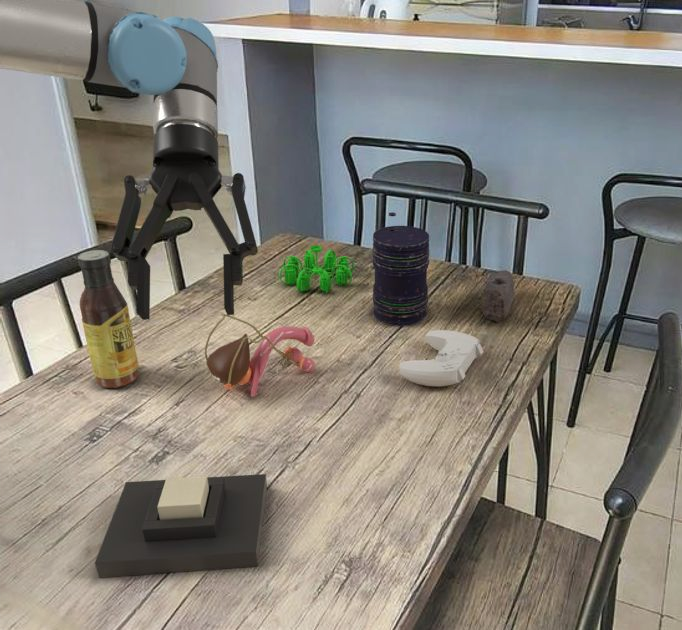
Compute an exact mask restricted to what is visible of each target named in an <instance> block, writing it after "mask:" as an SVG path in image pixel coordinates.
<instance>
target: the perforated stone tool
mask: <svg viewBox="0 0 682 630" xmlns="http://www.w3.org/2000/svg"><path fill="white" fill-rule="evenodd" d="M483 292H484V300H483V301H482V303H481V304H480V308H481V311H482V313H483V316H484V318H486V319H488V320H489V321H495V322H497V323H501V322H504V320H505V319H506V318H507V317H508V314H509V313H510V310H511V306H512V305H513V301H514V294H515V282H514V277H513V275H512V273H511V271H509V270H506V269H503V270H502V269H501V270H499V271H498V272H497V271H496V273H495V274H493V275H492V277H491V278H489V280H488V281H487V283H486V285H485V287H484V288H483Z"/></svg>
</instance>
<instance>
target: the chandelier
mask: <svg viewBox="0 0 682 630" xmlns="http://www.w3.org/2000/svg"><path fill="white" fill-rule="evenodd" d="M322 251H323V247H322V246H321V245H311V246H310V248H309V249H307V250H305V253H304V257H303V262H304V265H303V262H302V261H301V259H300V258H299V257H297V256H295V255H288V256H287V257H285V258H284V259H283V261H282V267H281V268H280V270H279V273H278V278H279V280H280V282H281V283H282V284H283V285H286V286H293V285H296V289H297V291H298V292H299V293H301V294H302V293H305V292H306V291H308V290H310V285H311V277H312V276H313V275H319V279H318V280H319V289H320V290H321V291H324V293H325V294H326V293H330V290H331V289H332V280H333V281H334V283H335V284H337V285H339V286H341V287H346V286H348V285H349V284H350V283H351V282H352V280H353V271H354V269H355V263H354V261H353V260H352V258H350V257H348V256H346V255H345V256H344V255H343V256H338V258H337V255H336V252H335V251H334V250H332V249H329V250H328V251H327V252H326V253H325V255H324V258H323V265H321V266H320V267H319V260H318V259H319V258H318V253H320V252H322ZM287 259H288V260H287ZM286 261H287V264H286ZM349 261H351V269H350V264H349ZM337 262H338V263H337ZM299 265H300V266H299ZM283 271H284V273H283V274H284V281H283V279H282V277H281V275H282V272H283ZM310 273H311V274H310ZM348 276H349V281H348Z"/></svg>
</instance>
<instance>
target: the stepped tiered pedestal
mask: <svg viewBox="0 0 682 630" xmlns="http://www.w3.org/2000/svg"><path fill="white" fill-rule="evenodd" d="M207 479H208V485H209V493H208V497H207V502H206V506H205V511H204V515H203V518H187V519H172V520H160V517H159V512H158V507H157V506H158V503H159V500H160V497H161V494H162V490H163V487H164V484H165V481H166V479H155V480H141V481H140V480H139V481H126V482H125V483H124V485H123V489H122V491H121V494H120V496H119V499H118V501H117V504H116V507H115V510H114V512H113V514H112V517H111V520H110V522H109V525H108V528H107V530H106V533H105V535H104V538H103V540H102V544H101V545H100V548H99V551H98V553H97V556H96V559H95V560H94V565H95V569H96V573H97V576H98V578H99V579H100V578H111V577H112V578H115V577H126V576H128V577H129V576H141V575H142V576H143V575H155V574H156V575H157V574H167V573H168V574H170V573H171V574H172V573H183V572H197V571H208V570H209V571H211V570H212V571H213V570H225V569H237V568H239V569H240V568H251V567H258V566H259V560H260V552H261V543H262V535H263V526H264V520H265V510H266V502H267V494H268V493H267V492H268V481H267V474H266V473H262V474H261V473H259V474H245V475H244V474H243V475H241V474H240V475H224V476H207Z"/></svg>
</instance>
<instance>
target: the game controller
mask: <svg viewBox="0 0 682 630" xmlns="http://www.w3.org/2000/svg"><path fill="white" fill-rule="evenodd" d="M424 338H425V339H424V340H425V341H426V343H427V344H428V345H429V346H431V347H432V348H433V349H435V350H437V351H438V352H437V353H438V354H437V355H436V356H435V358H431V359H414V360H404V361H401V362H399V365H398V373H399V374H400V375H401V376H402V378H404V379H405V380H407V381H409V382H411V383H413V384H417V385H421V386H426V387H447V386H451V385H455V384H456V385H457V384H459V383H460V382H461V381H463V380H464V379H465V378H466V372H467V371H468V369H469V368H470V366H471V364H472V363H473V361H474V360H475V359H477V358H478V357H480V356H482V355H483V354H484V349H483V347H482V345H481V343H480V340H479V339H478V338H477V337H475V336H473V335H471V334H468V333H464V332H460V331H456V330H447V329H435V330H431V331H429V332H427V333H426V334H425V335H424Z"/></svg>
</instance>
